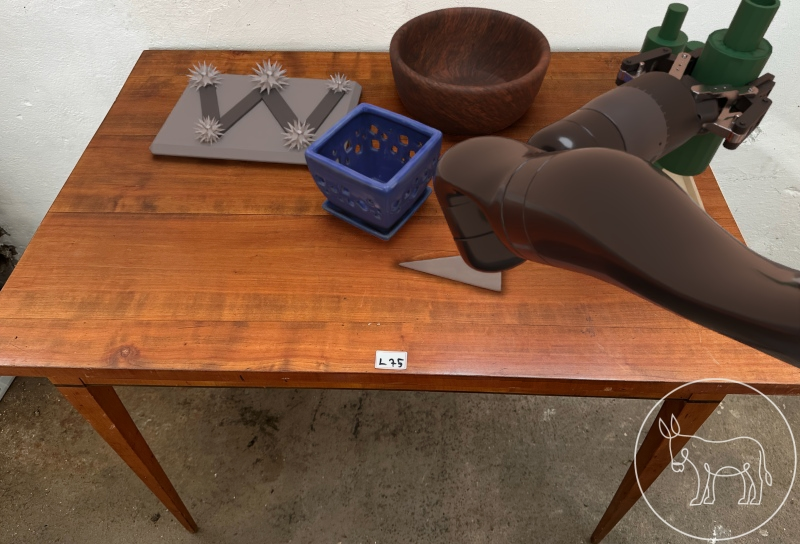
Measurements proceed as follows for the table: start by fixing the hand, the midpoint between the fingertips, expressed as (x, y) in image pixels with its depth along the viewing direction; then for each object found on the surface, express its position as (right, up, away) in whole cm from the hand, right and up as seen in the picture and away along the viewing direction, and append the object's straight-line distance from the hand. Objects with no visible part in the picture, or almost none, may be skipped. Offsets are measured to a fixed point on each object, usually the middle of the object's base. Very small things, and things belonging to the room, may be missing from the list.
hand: (737, 68), depth 54 cm
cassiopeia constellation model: (-56, +4, +35) cm, 66 cm away
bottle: (-2, -8, +7) cm, 11 cm away
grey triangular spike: (-27, -21, +14) cm, 37 cm away
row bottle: (+4, +4, +33) cm, 33 cm away
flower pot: (-37, -12, +22) cm, 45 cm away
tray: (+3, -4, +27) cm, 28 cm away
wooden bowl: (-23, +8, +38) cm, 45 cm away
